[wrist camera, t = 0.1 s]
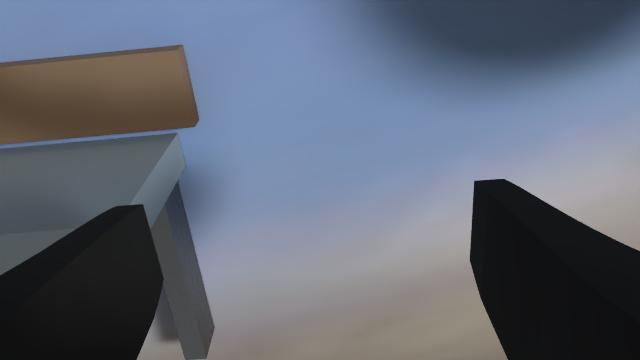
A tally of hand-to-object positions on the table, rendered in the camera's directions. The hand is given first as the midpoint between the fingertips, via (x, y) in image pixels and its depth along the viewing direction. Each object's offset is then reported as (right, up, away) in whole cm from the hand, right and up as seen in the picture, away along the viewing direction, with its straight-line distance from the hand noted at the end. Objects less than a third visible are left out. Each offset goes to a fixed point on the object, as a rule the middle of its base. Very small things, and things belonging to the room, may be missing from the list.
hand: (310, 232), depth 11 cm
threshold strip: (-14, +4, +9) cm, 17 cm away
